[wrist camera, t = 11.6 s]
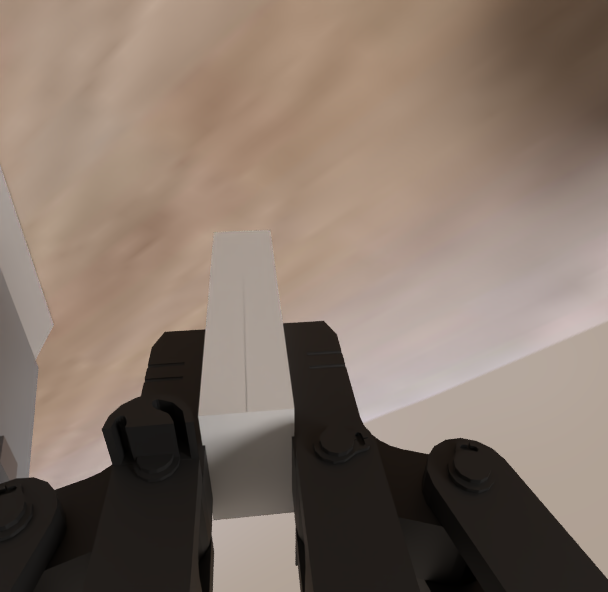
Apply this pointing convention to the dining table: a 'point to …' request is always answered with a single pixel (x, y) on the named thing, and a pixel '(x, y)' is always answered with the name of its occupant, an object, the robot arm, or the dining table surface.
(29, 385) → the cover
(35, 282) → the hinged pencil case
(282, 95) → the dining table surface
